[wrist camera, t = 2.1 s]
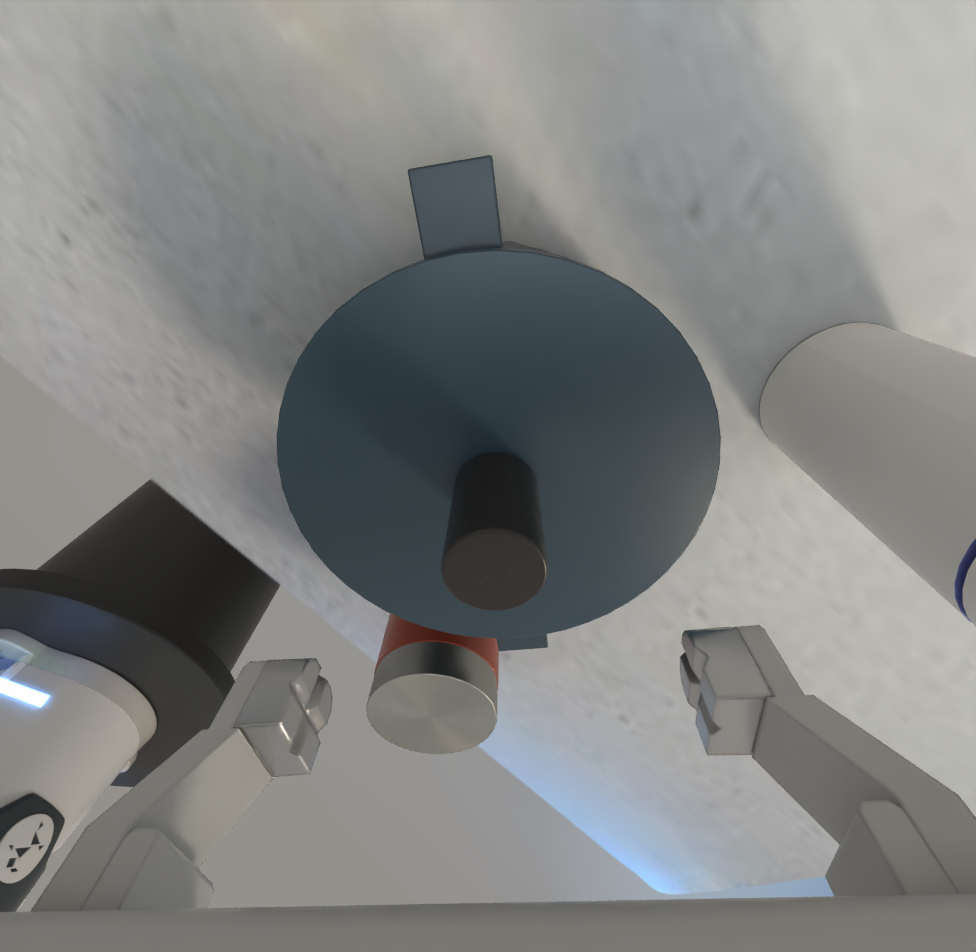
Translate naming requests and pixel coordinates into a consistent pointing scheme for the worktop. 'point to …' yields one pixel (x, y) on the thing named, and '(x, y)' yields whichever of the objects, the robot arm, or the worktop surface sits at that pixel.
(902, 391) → the cylindrical container
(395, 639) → the can
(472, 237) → the pot
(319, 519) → the pot lid
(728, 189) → the worktop surface
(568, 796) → the worktop surface
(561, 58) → the worktop surface
